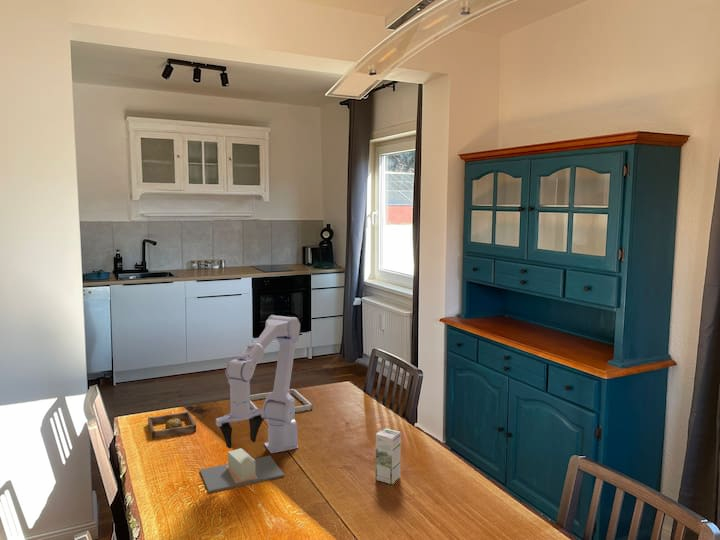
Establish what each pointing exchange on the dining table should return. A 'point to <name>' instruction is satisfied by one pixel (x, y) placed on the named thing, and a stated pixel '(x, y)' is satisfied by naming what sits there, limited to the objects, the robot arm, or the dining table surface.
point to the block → (241, 464)
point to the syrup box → (388, 455)
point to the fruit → (173, 423)
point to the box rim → (291, 391)
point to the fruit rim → (172, 431)
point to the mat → (226, 479)
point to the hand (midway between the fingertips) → (241, 443)
